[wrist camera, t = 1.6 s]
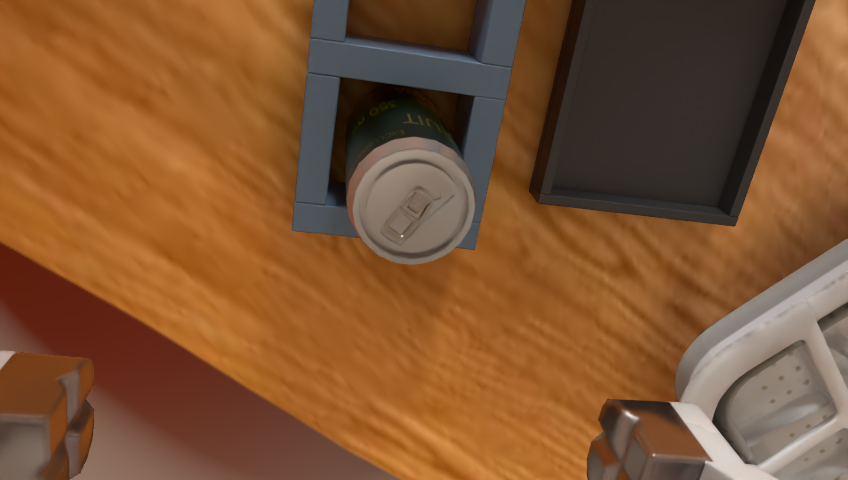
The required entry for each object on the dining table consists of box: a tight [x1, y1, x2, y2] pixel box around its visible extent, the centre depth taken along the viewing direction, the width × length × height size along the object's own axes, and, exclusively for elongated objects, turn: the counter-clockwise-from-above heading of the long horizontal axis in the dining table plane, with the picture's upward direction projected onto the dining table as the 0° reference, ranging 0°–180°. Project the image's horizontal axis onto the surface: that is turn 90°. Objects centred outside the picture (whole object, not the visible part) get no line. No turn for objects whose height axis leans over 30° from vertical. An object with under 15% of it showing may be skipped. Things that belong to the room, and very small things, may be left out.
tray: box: [529, 0, 816, 226], centre depth 38 cm, size 15×12×2 cm
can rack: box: [292, 0, 526, 250], centre depth 36 cm, size 18×10×4 cm, turn 171°
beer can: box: [345, 86, 476, 265], centre depth 34 cm, size 5×5×12 cm
